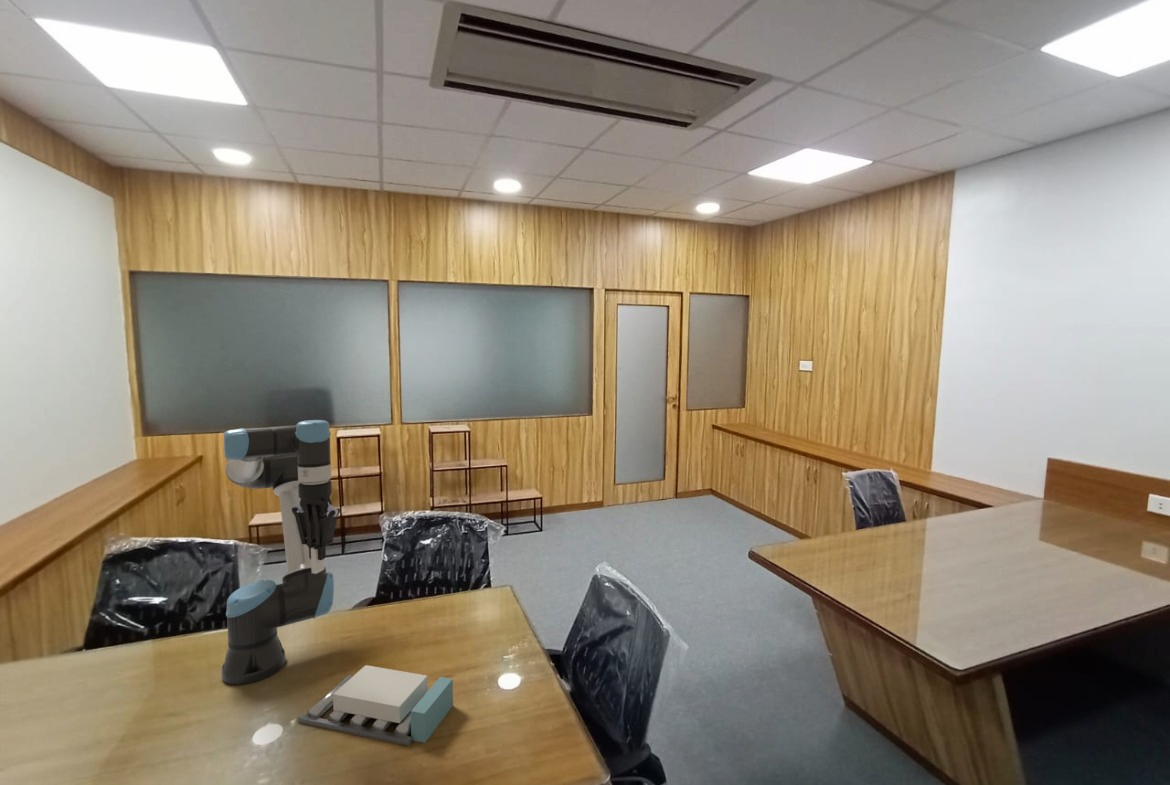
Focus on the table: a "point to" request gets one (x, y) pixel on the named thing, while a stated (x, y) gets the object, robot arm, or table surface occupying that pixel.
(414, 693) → the slab
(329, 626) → the table surface
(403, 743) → the roller bed
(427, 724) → the stop block
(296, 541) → the robot arm
